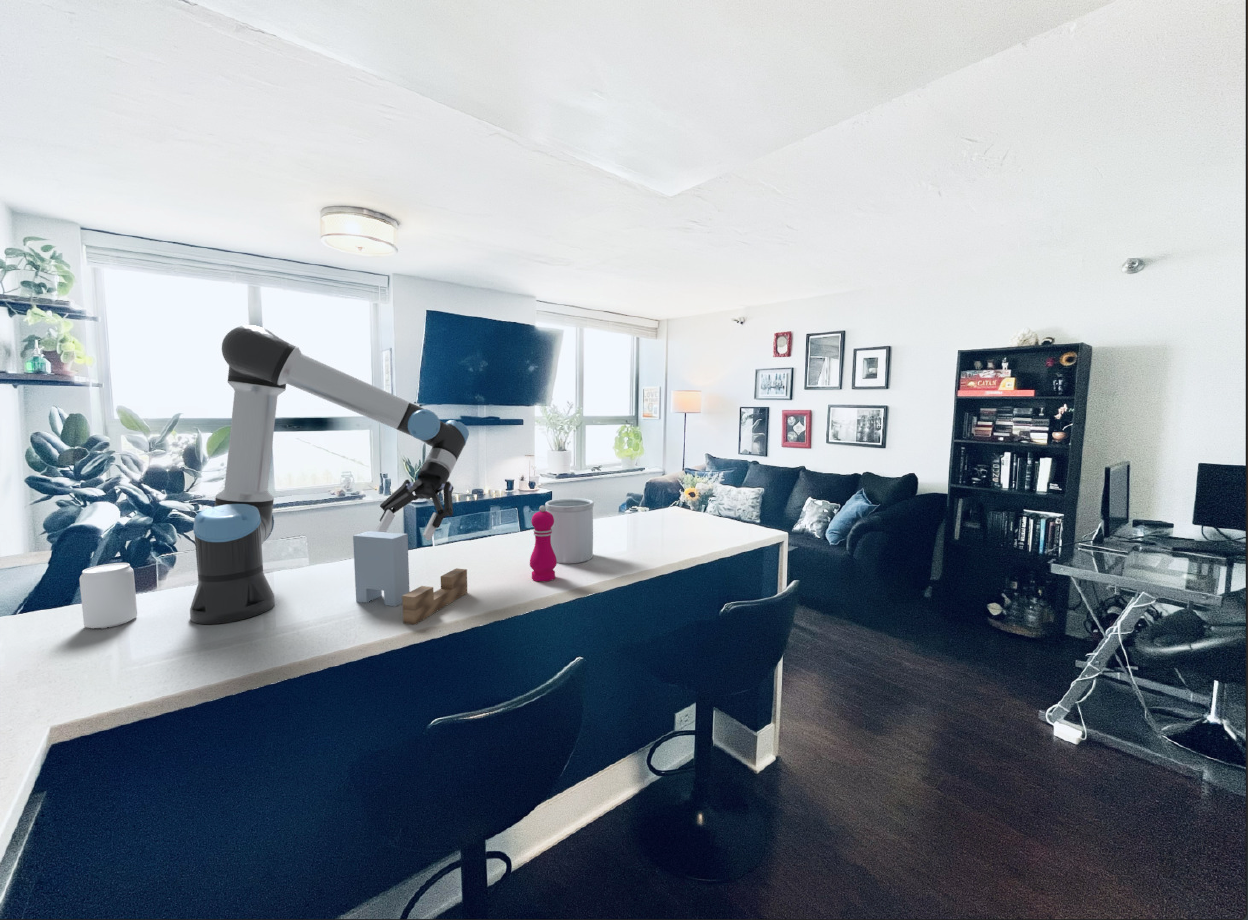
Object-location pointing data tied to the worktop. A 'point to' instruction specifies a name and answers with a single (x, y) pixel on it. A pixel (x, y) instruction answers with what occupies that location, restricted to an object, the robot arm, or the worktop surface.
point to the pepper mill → (543, 547)
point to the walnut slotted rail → (434, 596)
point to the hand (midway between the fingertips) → (402, 536)
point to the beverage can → (108, 595)
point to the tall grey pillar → (381, 566)
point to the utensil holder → (571, 529)
